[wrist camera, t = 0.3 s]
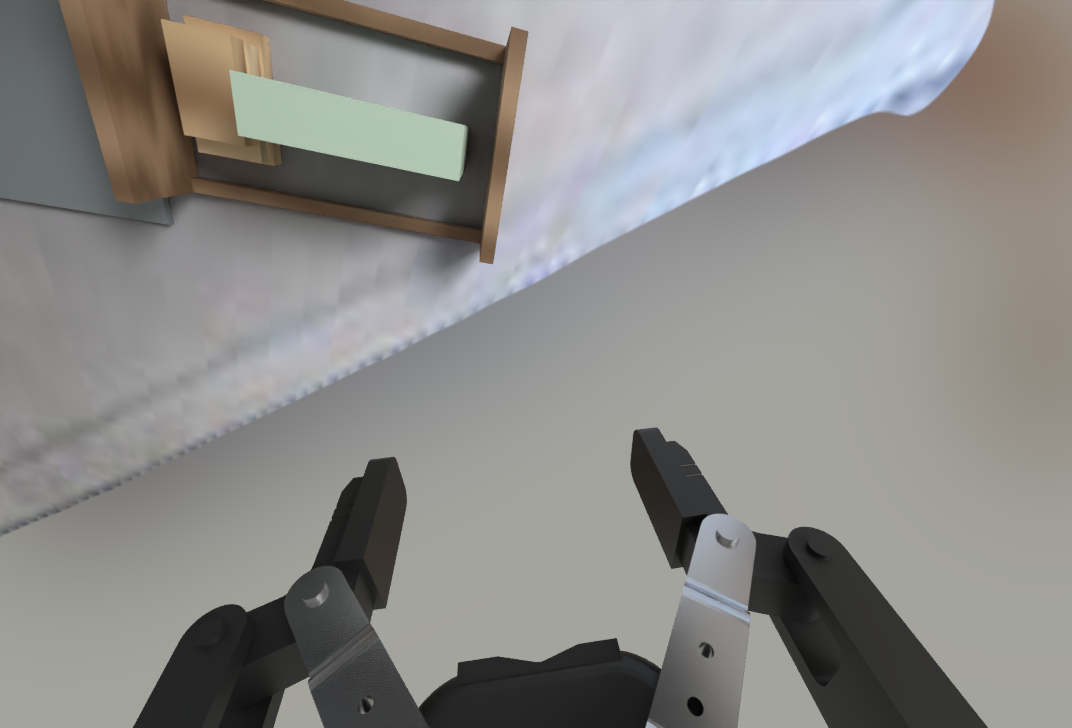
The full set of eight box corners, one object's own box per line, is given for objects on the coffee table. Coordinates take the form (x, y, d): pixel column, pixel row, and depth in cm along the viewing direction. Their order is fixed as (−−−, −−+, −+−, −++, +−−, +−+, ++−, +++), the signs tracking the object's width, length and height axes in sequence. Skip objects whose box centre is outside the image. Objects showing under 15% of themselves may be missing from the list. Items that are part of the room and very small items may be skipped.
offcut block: (197, 20, 27) (149, 1, 23) (270, 38, 27) (235, 22, 24) (220, 152, 30) (181, 155, 26) (282, 164, 31) (254, 168, 27)
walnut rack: (138, -55, 24) (25, -116, 18) (518, 52, 29) (528, 31, 23) (186, 187, 31) (115, 200, 25) (491, 242, 36) (492, 264, 30)
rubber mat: (-165, -73, 23) (-180, -78, 22) (123, 1, 26) (116, -2, 25) (-45, 188, 29) (-55, 188, 29) (173, 223, 32) (168, 224, 32)
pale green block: (304, 88, 29) (229, 69, 20) (469, 127, 31) (464, 124, 23) (306, 135, 30) (238, 135, 22) (464, 169, 33) (458, 181, 24)
